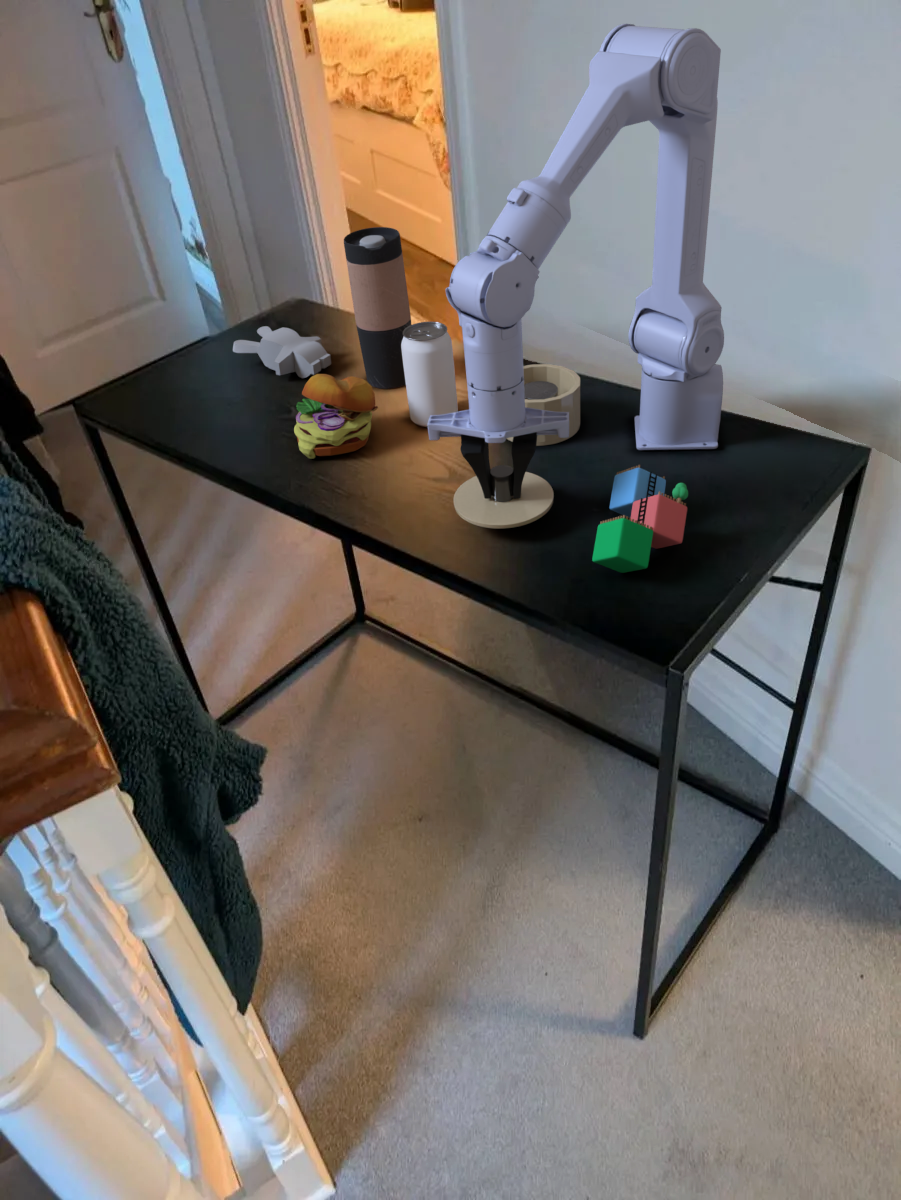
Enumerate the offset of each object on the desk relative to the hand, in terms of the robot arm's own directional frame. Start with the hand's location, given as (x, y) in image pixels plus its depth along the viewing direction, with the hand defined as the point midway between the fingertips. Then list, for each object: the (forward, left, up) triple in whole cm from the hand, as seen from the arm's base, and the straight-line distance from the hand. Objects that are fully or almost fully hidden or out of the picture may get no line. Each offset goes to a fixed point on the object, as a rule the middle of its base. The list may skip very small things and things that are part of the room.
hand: (502, 493), depth 98 cm
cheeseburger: (+23, -17, -3) cm, 29 cm away
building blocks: (-14, +6, -3) cm, 15 cm away
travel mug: (+19, -35, -3) cm, 40 cm away
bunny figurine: (+36, -40, -3) cm, 54 cm away
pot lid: (0, 0, -1) cm, 1 cm away
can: (+11, -23, -3) cm, 26 cm away
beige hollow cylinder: (-3, -20, -3) cm, 21 cm away
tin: (-3, -20, -2) cm, 21 cm away
